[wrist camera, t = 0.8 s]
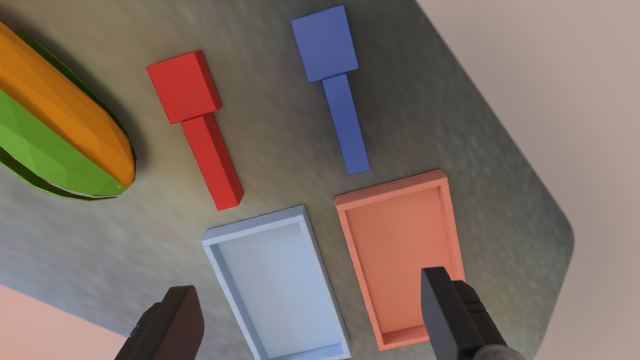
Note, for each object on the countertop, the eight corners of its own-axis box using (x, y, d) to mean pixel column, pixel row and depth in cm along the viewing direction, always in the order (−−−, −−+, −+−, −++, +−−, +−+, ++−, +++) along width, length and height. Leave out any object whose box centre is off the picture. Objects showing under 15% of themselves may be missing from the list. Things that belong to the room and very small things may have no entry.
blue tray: (206, 230, 34) (200, 241, 32) (304, 204, 33) (303, 214, 31) (265, 360, 40) (262, 376, 38) (350, 341, 39) (351, 357, 37)
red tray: (334, 196, 33) (335, 206, 31) (439, 168, 32) (447, 176, 30) (376, 335, 38) (379, 351, 37) (467, 316, 37) (474, 330, 36)
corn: (61, 246, 26) (-252, 3, 20) (113, 204, 33) (-107, 16, 27) (134, 178, 24) (-179, -102, 19) (172, 149, 32) (-48, -60, 26)
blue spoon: (379, 157, 32) (383, 166, 29) (335, 169, 32) (336, 179, 30) (342, 5, 27) (344, 3, 25) (292, 21, 28) (289, 20, 25)
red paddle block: (255, 190, 33) (250, 202, 30) (214, 202, 33) (206, 214, 31) (201, 50, 28) (191, 51, 26) (155, 65, 29) (141, 67, 27)
